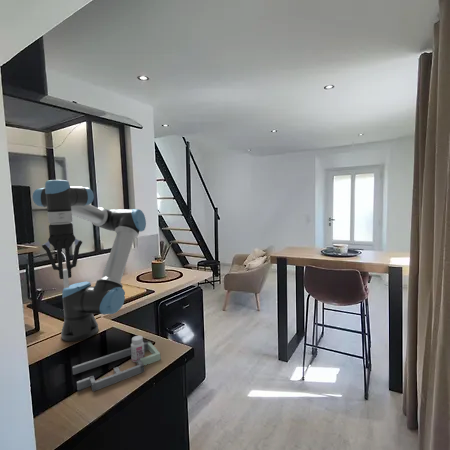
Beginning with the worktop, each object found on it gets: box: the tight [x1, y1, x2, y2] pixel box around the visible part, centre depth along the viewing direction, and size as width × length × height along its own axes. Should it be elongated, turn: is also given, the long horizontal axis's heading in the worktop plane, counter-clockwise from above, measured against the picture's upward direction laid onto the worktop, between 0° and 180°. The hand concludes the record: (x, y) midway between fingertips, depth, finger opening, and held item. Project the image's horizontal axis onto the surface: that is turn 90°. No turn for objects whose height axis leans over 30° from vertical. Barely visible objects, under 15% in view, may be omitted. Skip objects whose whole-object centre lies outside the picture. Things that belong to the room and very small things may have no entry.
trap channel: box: [72, 341, 161, 392], centre depth 102 cm, size 15×28×2 cm, turn 125°
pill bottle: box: [130, 335, 145, 363], centre depth 107 cm, size 5×5×8 cm
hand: (66, 286), depth 104 cm, fingers closed
